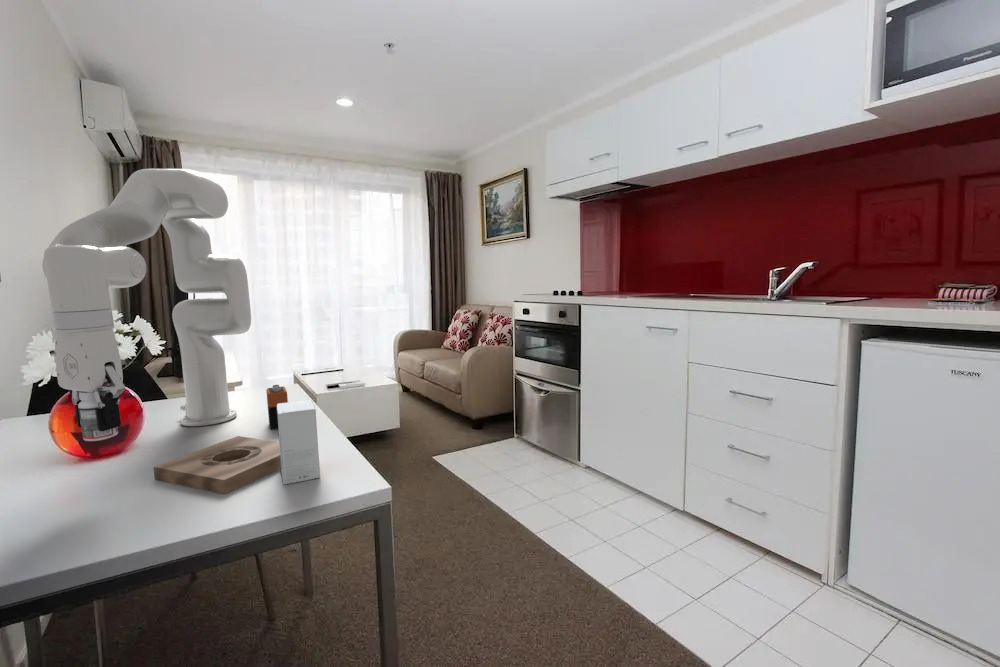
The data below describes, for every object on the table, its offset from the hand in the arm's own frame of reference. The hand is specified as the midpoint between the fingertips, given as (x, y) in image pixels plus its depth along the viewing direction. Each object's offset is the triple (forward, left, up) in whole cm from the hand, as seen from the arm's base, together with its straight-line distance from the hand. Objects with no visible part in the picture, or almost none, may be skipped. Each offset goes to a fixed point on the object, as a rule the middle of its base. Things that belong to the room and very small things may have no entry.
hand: (99, 425), depth 84 cm
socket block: (+11, +15, -12) cm, 23 cm away
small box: (+26, +17, -12) cm, 34 cm away
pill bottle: (0, 0, -2) cm, 2 cm away
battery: (-2, +39, -12) cm, 41 cm away
